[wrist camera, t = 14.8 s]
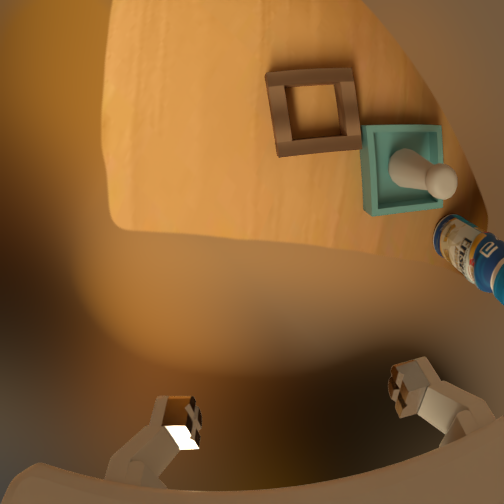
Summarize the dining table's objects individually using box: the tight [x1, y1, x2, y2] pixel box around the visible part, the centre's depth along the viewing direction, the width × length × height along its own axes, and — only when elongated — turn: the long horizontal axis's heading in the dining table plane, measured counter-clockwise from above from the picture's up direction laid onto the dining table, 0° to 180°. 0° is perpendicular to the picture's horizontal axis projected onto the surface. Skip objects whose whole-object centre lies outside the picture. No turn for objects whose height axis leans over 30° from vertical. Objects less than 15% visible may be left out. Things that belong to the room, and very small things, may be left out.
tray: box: [360, 124, 443, 216], centre depth 40 cm, size 13×13×4 cm
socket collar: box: [265, 68, 362, 158], centre depth 37 cm, size 12×12×3 cm
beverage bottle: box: [433, 214, 504, 305], centre depth 37 cm, size 8×8×20 cm
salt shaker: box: [388, 148, 457, 200], centre depth 35 cm, size 6×6×13 cm
